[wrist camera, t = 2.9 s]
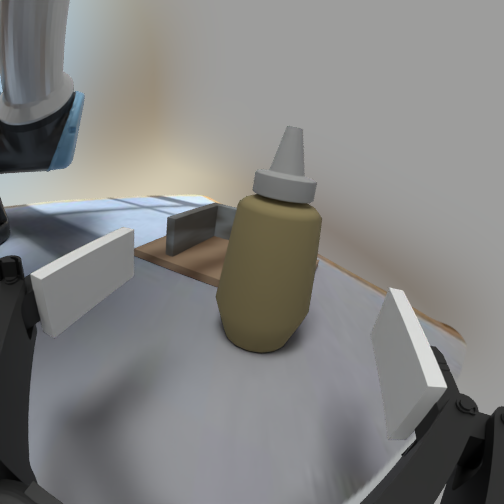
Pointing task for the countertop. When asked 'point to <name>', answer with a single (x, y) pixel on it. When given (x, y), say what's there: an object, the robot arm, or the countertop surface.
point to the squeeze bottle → (271, 253)
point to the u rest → (194, 243)
